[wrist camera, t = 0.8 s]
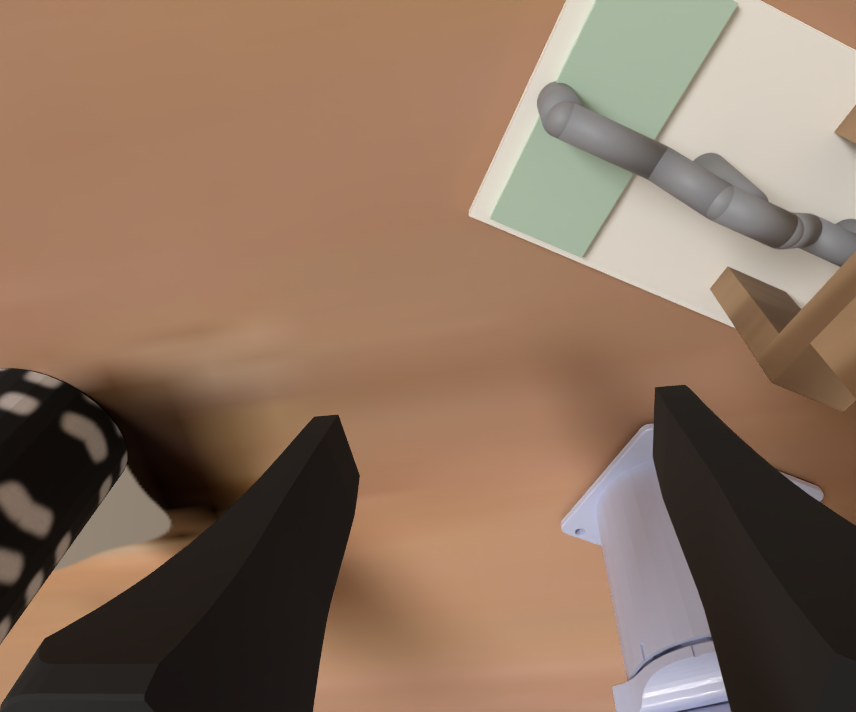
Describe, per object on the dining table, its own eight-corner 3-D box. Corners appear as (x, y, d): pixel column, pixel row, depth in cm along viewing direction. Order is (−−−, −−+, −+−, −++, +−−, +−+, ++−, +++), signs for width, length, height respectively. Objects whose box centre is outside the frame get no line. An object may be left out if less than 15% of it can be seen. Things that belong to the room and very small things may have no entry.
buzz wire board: (976, 115, 18) (1122, 163, 14) (770, 338, 23) (832, 422, 19) (602, -80, 16) (642, -92, 12) (469, 210, 21) (464, 273, 17)
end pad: (734, 2, 16) (738, 3, 16) (580, 254, 21) (581, 257, 21) (622, -56, 16) (624, -56, 15) (490, 216, 20) (490, 219, 20)
